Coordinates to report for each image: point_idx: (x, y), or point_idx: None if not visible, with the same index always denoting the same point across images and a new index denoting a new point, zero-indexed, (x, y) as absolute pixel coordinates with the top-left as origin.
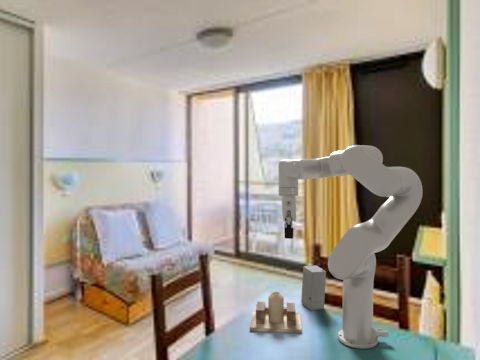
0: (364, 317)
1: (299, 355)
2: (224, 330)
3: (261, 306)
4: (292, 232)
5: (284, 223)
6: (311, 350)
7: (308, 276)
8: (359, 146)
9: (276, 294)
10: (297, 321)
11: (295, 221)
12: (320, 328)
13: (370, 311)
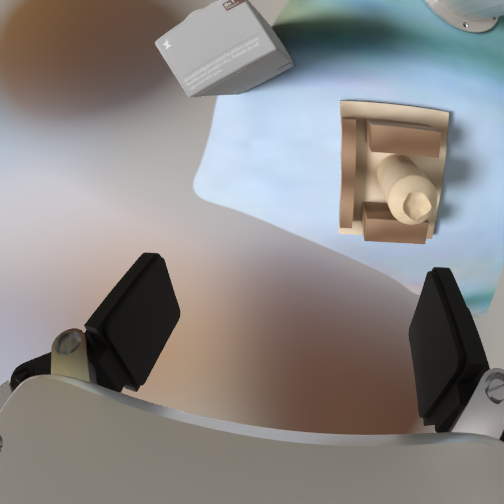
0: None
1: None
2: (420, 282)
3: (401, 229)
4: (466, 319)
5: (136, 391)
6: None
7: (251, 68)
8: None
9: (409, 201)
10: (403, 115)
11: (496, 439)
12: (415, 55)
13: None
